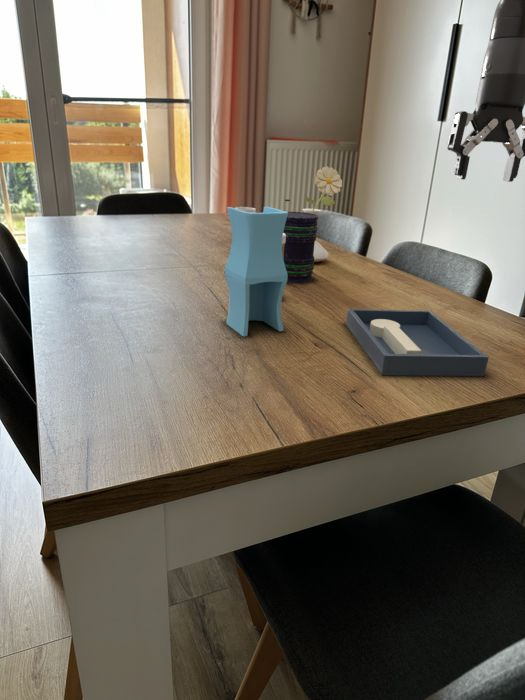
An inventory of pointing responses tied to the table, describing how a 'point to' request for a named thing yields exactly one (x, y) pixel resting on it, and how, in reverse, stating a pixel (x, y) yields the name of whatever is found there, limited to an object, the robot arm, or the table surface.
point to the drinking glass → (246, 209)
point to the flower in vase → (324, 201)
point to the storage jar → (299, 246)
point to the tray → (418, 345)
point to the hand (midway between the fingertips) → (484, 180)
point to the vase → (256, 268)
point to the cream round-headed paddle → (393, 336)
